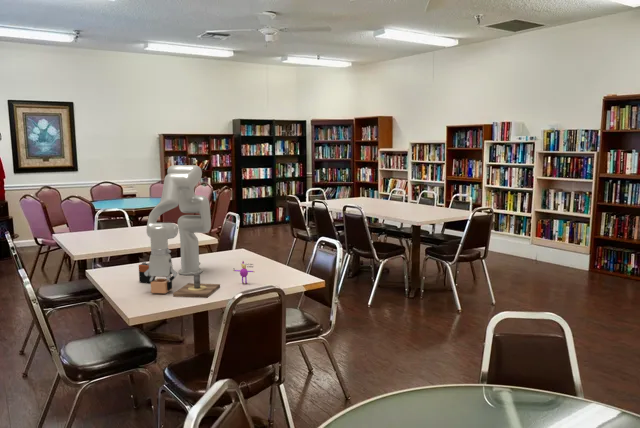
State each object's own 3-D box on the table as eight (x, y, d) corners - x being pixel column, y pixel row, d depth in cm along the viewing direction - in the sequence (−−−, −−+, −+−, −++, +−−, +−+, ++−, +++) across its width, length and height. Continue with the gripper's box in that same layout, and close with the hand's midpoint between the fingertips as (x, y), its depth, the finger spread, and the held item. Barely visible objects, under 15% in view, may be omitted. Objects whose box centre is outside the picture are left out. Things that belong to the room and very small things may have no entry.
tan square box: (158, 288, 238) (157, 278, 237) (172, 288, 237) (171, 278, 236) (151, 292, 231) (150, 282, 230) (165, 293, 230) (165, 282, 229)
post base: (188, 286, 245) (188, 268, 244) (220, 287, 243) (219, 269, 242) (173, 296, 227) (172, 277, 226) (207, 297, 225) (206, 278, 224)
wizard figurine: (255, 283, 249) (255, 260, 247) (253, 285, 246) (253, 261, 244) (234, 282, 251) (234, 259, 250) (232, 284, 248) (231, 260, 247)
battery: (145, 280, 257) (144, 261, 255) (155, 281, 254) (154, 262, 253) (139, 282, 253) (138, 263, 251) (149, 283, 250) (148, 264, 249)
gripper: (180, 250, 234) (182, 287, 236) (145, 250, 236) (147, 286, 239) (174, 254, 226) (176, 292, 229) (138, 253, 229) (140, 291, 231)
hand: (161, 289), depth 234 cm, fingers closed on tan square box, 7 cm apart
